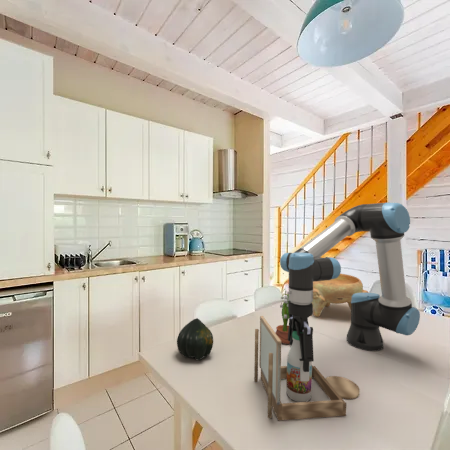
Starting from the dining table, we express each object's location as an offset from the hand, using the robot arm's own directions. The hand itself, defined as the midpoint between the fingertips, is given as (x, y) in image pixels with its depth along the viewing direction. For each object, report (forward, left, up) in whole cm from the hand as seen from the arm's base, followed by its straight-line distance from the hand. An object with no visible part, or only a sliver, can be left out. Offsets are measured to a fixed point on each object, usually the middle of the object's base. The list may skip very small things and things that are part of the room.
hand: (299, 372), depth 85 cm
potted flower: (-9, -38, -7) cm, 40 cm away
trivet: (-16, -2, -7) cm, 17 cm away
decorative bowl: (-50, -74, -7) cm, 90 cm away
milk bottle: (0, 0, -7) cm, 7 cm away
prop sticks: (+12, 0, -7) cm, 14 cm away
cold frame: (0, 0, -7) cm, 7 cm away
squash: (+33, -29, -7) cm, 45 cm away
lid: (+10, 0, -3) cm, 10 cm away
